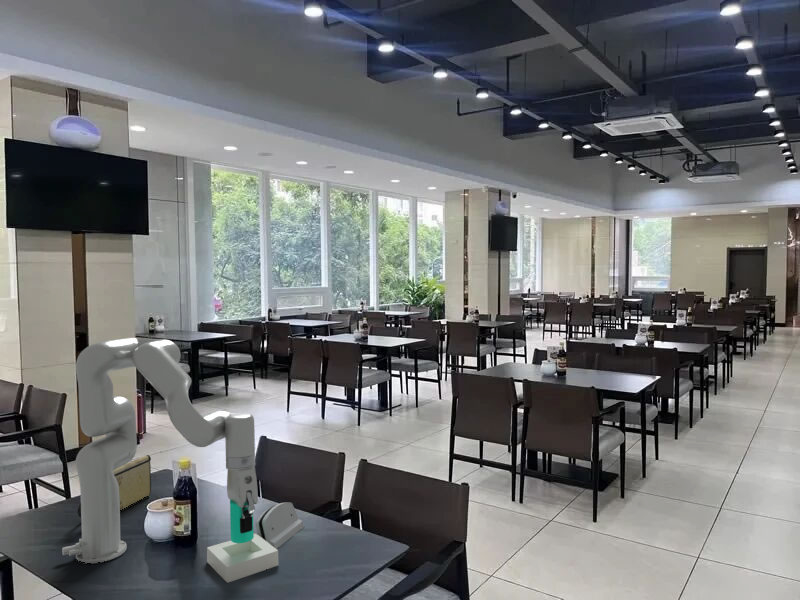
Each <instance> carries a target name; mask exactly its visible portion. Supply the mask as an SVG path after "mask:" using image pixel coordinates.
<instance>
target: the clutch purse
mask: <svg viewBox="0 0 800 600" xmlns="http://www.w3.org/2000/svg"><path fill="white" fill-rule="evenodd" d="M151 460H152V459H151V456H150V455H149V454H146V455H144V456H141V457H139V458H137V459H135V460H131V461H130V462H128V463H127V464H125V465H123V466H121V467H119V468H117V469H115V470H114V471H113V473H114V476H115V478H116V480H117V482H118V485H119V500H120V510H122V509H123V510H125V509H127V508H129V507H130V506H129V505H131V504H133V503H135V502H137V501H139V500H141V499H142V500H144V499H145V498H144V497H146V496H149V495H150V496H151V492H152V481H151V478H152V474H151V471H152V469H151V468H152V467H151ZM150 496H149V497H150ZM143 498H144V499H143ZM146 498H147V497H146ZM142 500H141V501H142ZM139 502H140V501H139ZM137 503H138V502H137ZM135 504H136V503H135ZM133 505H134V504H133ZM128 506H129V507H128ZM131 506H132V505H131ZM126 507H127V508H126ZM124 508H125V509H124ZM123 510H122V511H123ZM77 515H78V517H79V518H80V519H81V502H80V503H79V505H78V508H77Z"/></svg>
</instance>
